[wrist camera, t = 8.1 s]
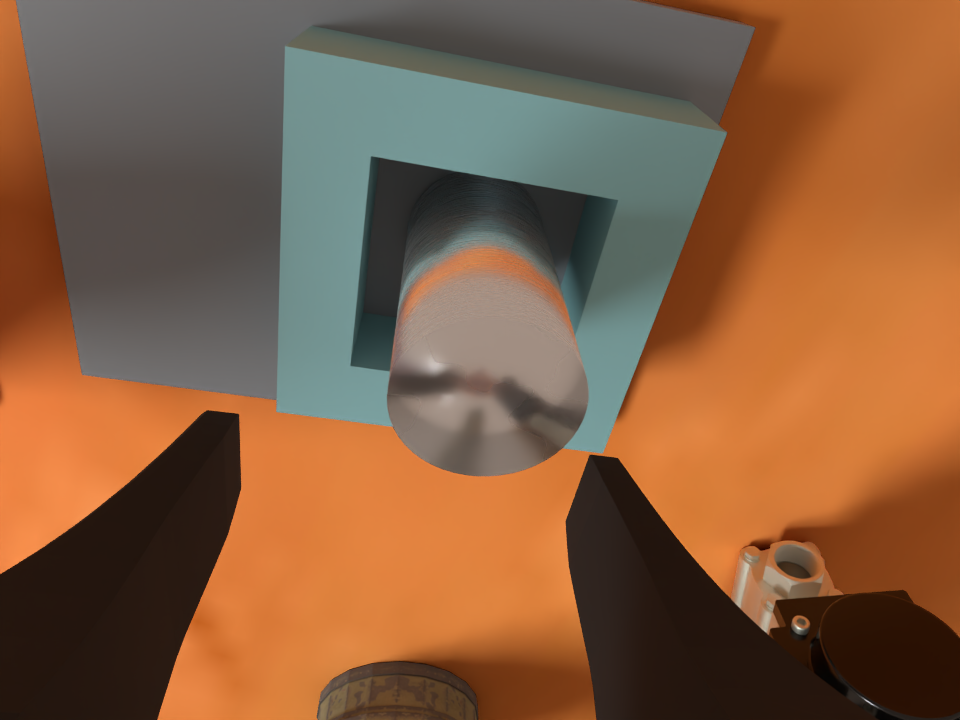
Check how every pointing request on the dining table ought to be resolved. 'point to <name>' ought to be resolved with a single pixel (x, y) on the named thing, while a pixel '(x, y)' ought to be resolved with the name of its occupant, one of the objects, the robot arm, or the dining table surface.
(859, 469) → the dining table surface
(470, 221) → the pin
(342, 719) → the stone statue
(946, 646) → the pneumatic valve
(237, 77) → the block
